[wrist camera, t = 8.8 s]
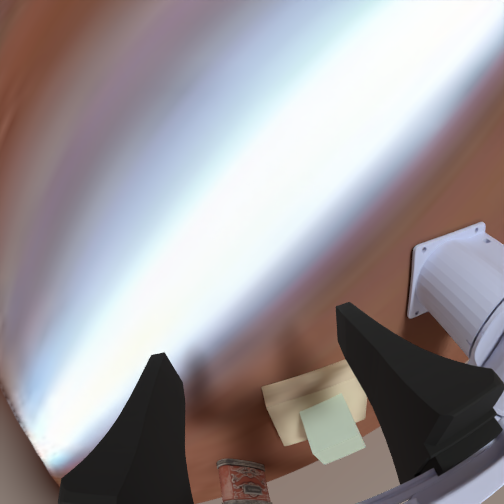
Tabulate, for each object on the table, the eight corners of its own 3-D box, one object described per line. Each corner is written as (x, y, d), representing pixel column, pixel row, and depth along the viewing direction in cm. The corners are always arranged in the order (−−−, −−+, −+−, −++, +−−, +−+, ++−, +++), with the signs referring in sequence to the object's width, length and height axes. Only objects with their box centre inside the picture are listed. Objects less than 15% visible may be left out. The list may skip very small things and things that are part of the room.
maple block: (356, 350, 28) (368, 372, 25) (356, 400, 33) (365, 418, 30) (260, 383, 28) (266, 407, 25) (279, 426, 33) (284, 446, 30)
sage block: (341, 393, 26) (359, 433, 22) (349, 410, 28) (365, 447, 24) (299, 411, 26) (312, 453, 22) (311, 427, 29) (324, 464, 24)
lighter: (269, 464, 37) (282, 520, 28) (254, 472, 38) (265, 525, 29) (225, 456, 34) (235, 520, 25) (211, 464, 35) (218, 524, 26)
